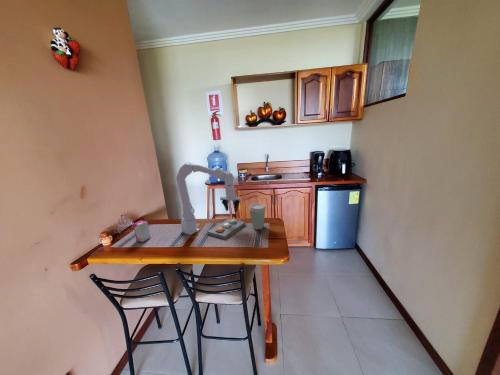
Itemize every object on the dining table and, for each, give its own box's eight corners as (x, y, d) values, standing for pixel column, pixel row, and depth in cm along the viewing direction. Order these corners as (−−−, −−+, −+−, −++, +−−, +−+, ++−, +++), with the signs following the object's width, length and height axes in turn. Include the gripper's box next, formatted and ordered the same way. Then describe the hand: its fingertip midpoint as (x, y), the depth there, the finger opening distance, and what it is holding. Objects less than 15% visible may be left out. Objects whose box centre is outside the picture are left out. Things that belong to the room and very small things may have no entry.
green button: (228, 223, 131) (228, 221, 130) (232, 221, 134) (232, 218, 133) (233, 224, 128) (233, 222, 128) (237, 222, 132) (236, 219, 131)
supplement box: (151, 238, 122) (147, 221, 119) (142, 242, 116) (138, 225, 114) (144, 236, 124) (141, 219, 121) (136, 241, 119) (132, 223, 116)
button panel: (207, 234, 121) (207, 231, 121) (228, 221, 138) (228, 218, 138) (225, 239, 114) (224, 236, 114) (245, 224, 131) (244, 222, 131)
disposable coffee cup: (264, 223, 132) (263, 201, 128) (268, 230, 122) (267, 207, 118) (249, 224, 131) (247, 203, 127) (251, 232, 120) (249, 209, 117)
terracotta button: (215, 232, 120) (215, 229, 120) (219, 229, 123) (219, 226, 123) (220, 233, 118) (220, 230, 117) (224, 230, 121) (224, 227, 121)
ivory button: (222, 227, 125) (222, 225, 125) (226, 225, 129) (226, 222, 128) (227, 229, 123) (227, 226, 123) (231, 226, 126) (231, 223, 126)
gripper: (216, 192, 124) (219, 212, 128) (237, 193, 120) (239, 213, 123) (222, 189, 131) (224, 208, 134) (242, 190, 126) (243, 209, 129)
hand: (231, 210), depth 129 cm, fingers open, 6 cm apart
